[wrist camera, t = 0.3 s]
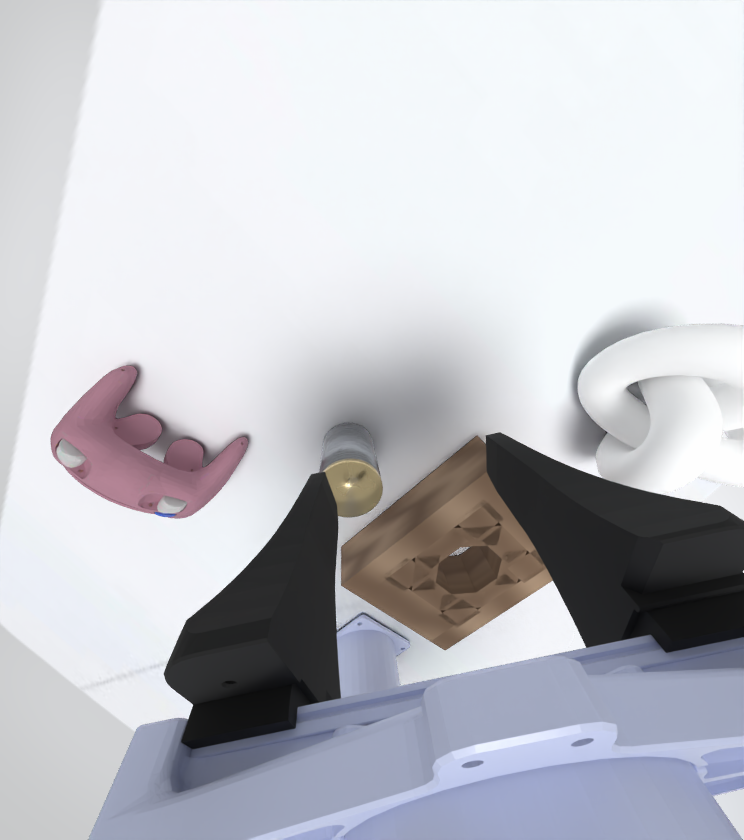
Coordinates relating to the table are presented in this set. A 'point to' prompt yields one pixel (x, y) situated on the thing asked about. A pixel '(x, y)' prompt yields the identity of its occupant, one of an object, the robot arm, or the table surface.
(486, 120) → the table surface
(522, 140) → the table surface
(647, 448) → the white knot sculpture
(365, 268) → the table surface
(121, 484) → the video game controller
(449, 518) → the jig
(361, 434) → the brass capped cylinder
